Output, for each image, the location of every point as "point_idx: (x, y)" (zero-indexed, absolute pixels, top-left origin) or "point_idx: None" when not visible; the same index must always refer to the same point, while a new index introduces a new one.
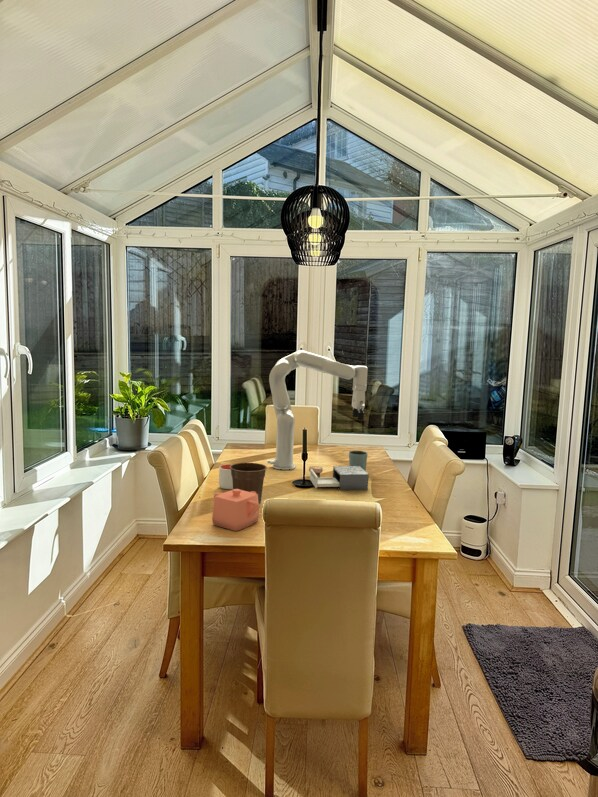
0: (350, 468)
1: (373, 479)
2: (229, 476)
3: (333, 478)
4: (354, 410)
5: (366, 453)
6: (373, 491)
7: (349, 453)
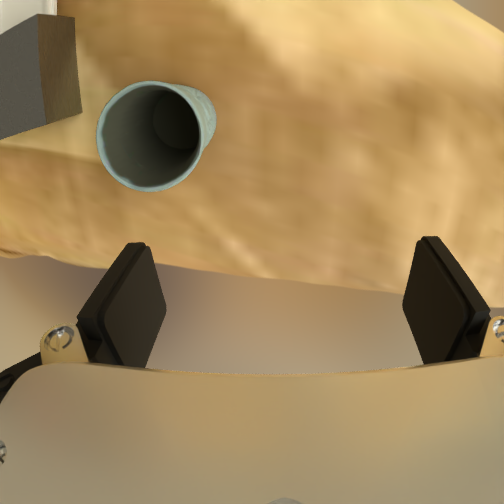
0: (13, 85)
1: None
2: None
3: None
4: (456, 328)
5: (149, 185)
6: (3, 150)
7: (134, 83)
